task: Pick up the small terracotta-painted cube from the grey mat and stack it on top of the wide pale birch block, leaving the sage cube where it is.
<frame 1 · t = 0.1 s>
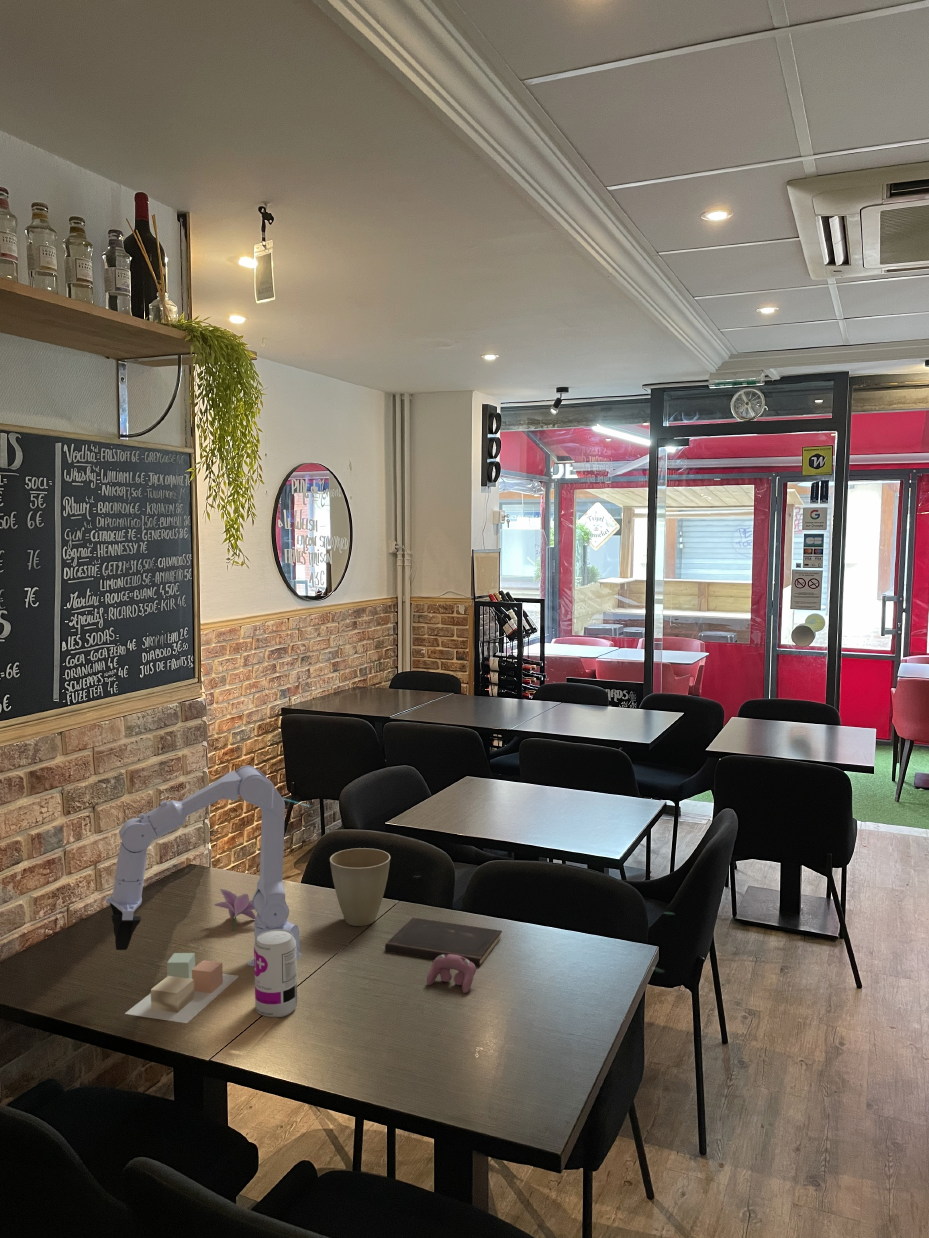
hand: (120, 941, 187), 11 cm above the table, tool pointing down, fingers open, 7 cm apart
sage block: (181, 977, 192), resting on mat
terracotta block: (207, 986, 189), resting on mat
video game controller: (451, 985, 190), on the table
plant pot: (361, 920, 223), on the table
birch base block: (173, 1003, 182), resting on mat
lily: (239, 925, 221), on the table
hardcover book: (444, 947, 209), on the table
supplement can: (276, 1010, 180), on the table
mat: (184, 995, 185), on the table
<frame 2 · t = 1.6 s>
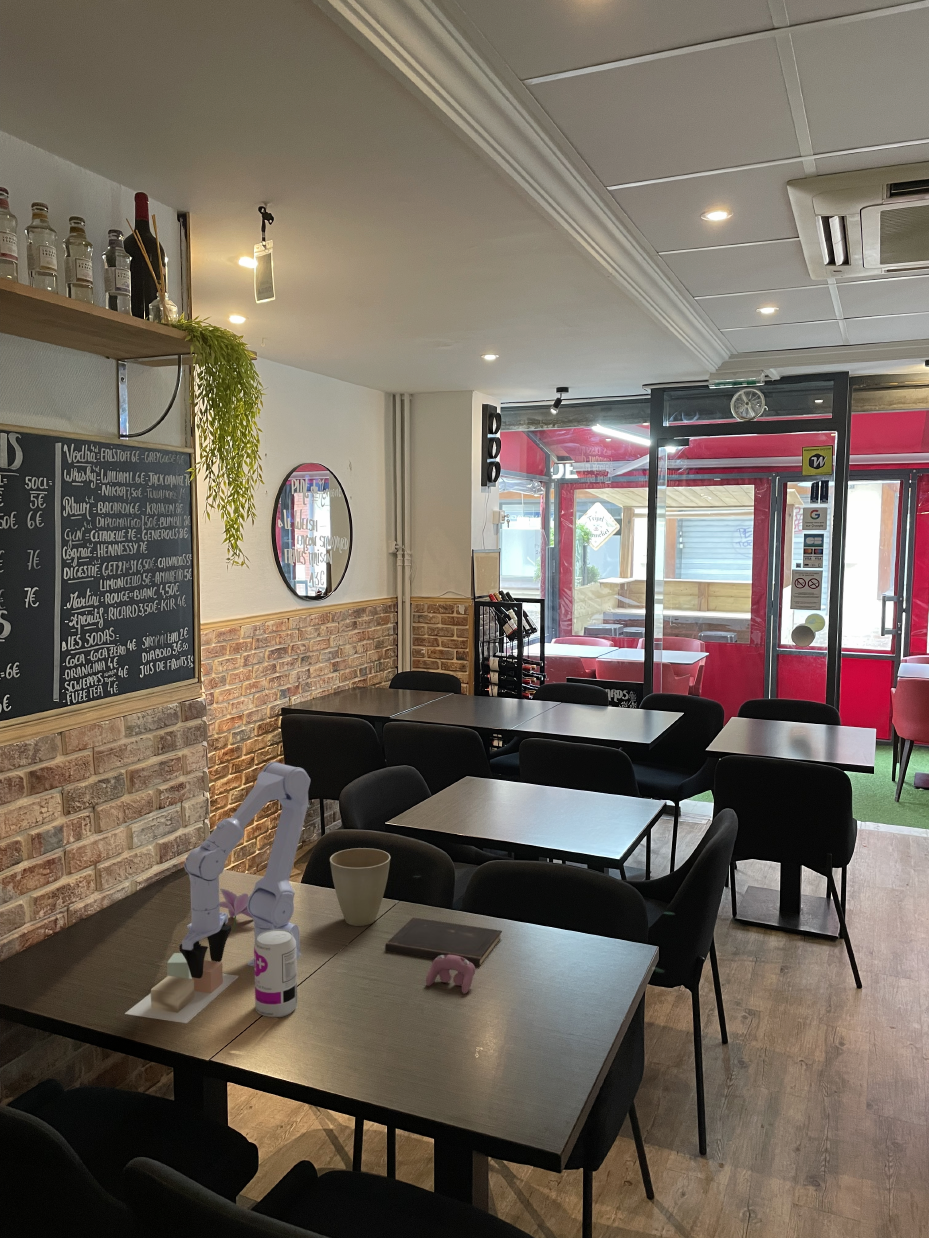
hand: (206, 968, 188), 4 cm above the table, tool pointing down, fingers open, 7 cm apart
nothing on the table moved.
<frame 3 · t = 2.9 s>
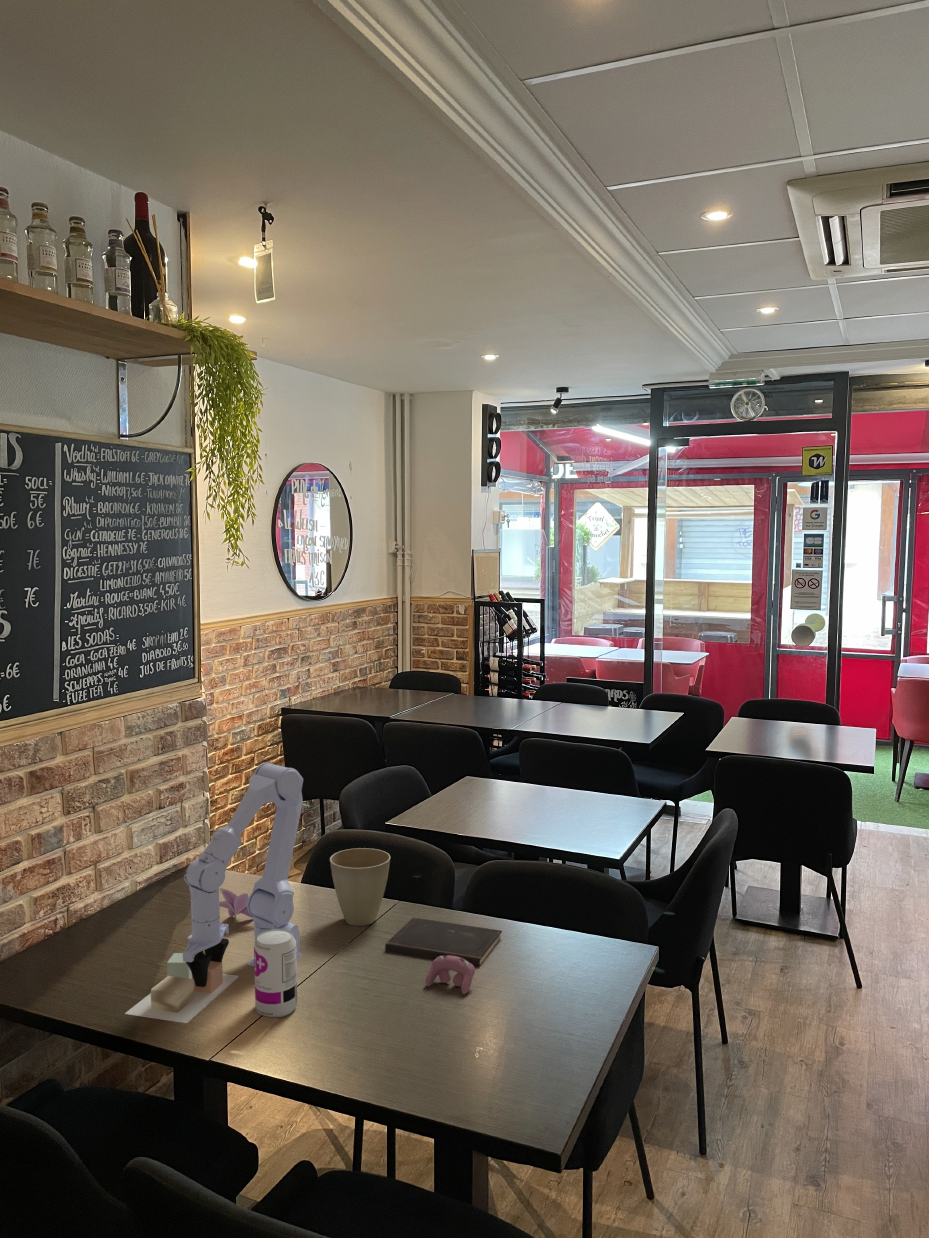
hand: (207, 980, 188), 2 cm above the table, tool pointing down, fingers closed on terracotta block, 4 cm apart
terracotta block: (207, 986, 189), resting on mat, touching gripper
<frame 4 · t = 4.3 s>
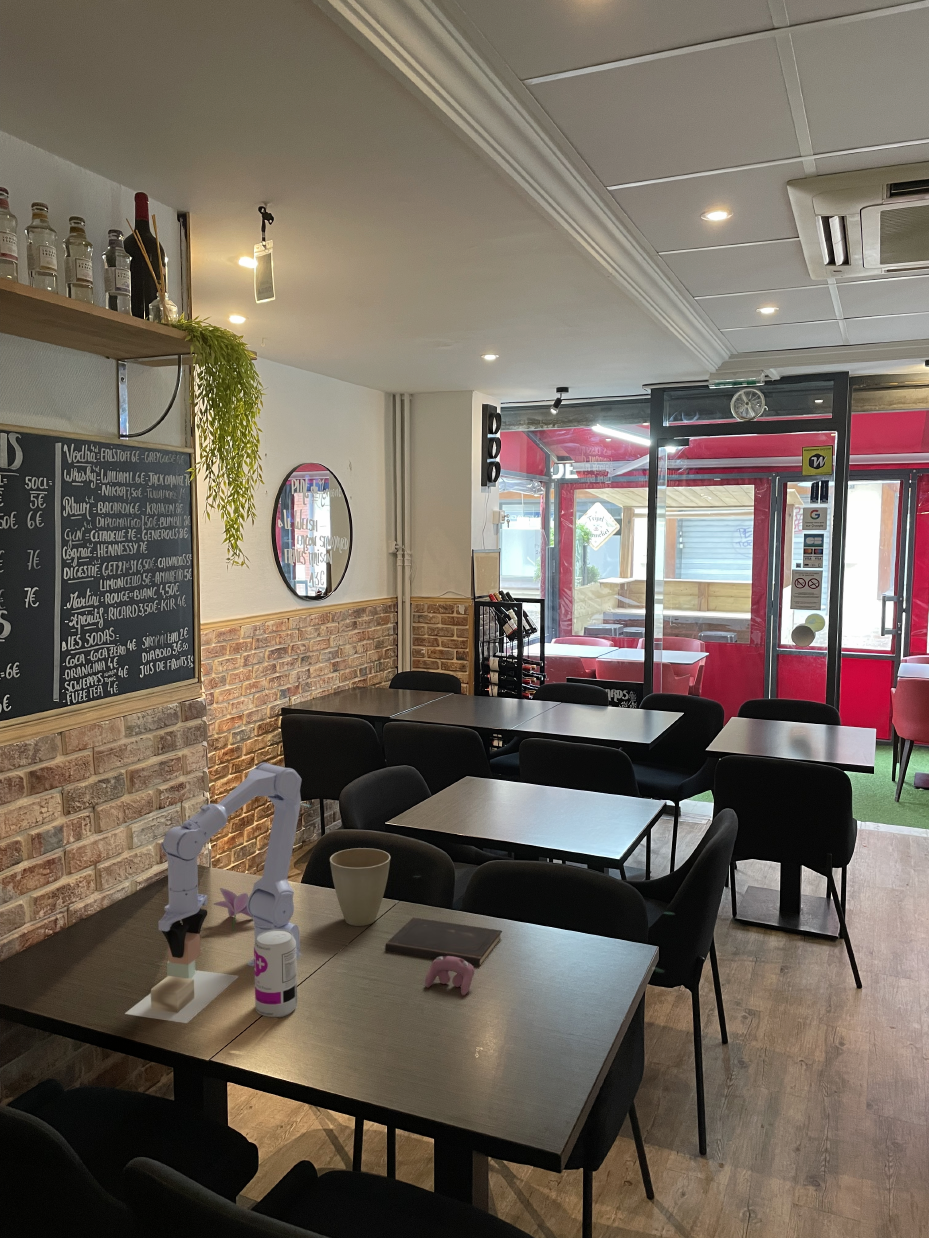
hand: (184, 951, 183), 10 cm above the table, tool pointing down, fingers closed on terracotta block, 4 cm apart
terracotta block: (184, 958, 184), point 9 cm above the table, touching gripper
everything else where it was.
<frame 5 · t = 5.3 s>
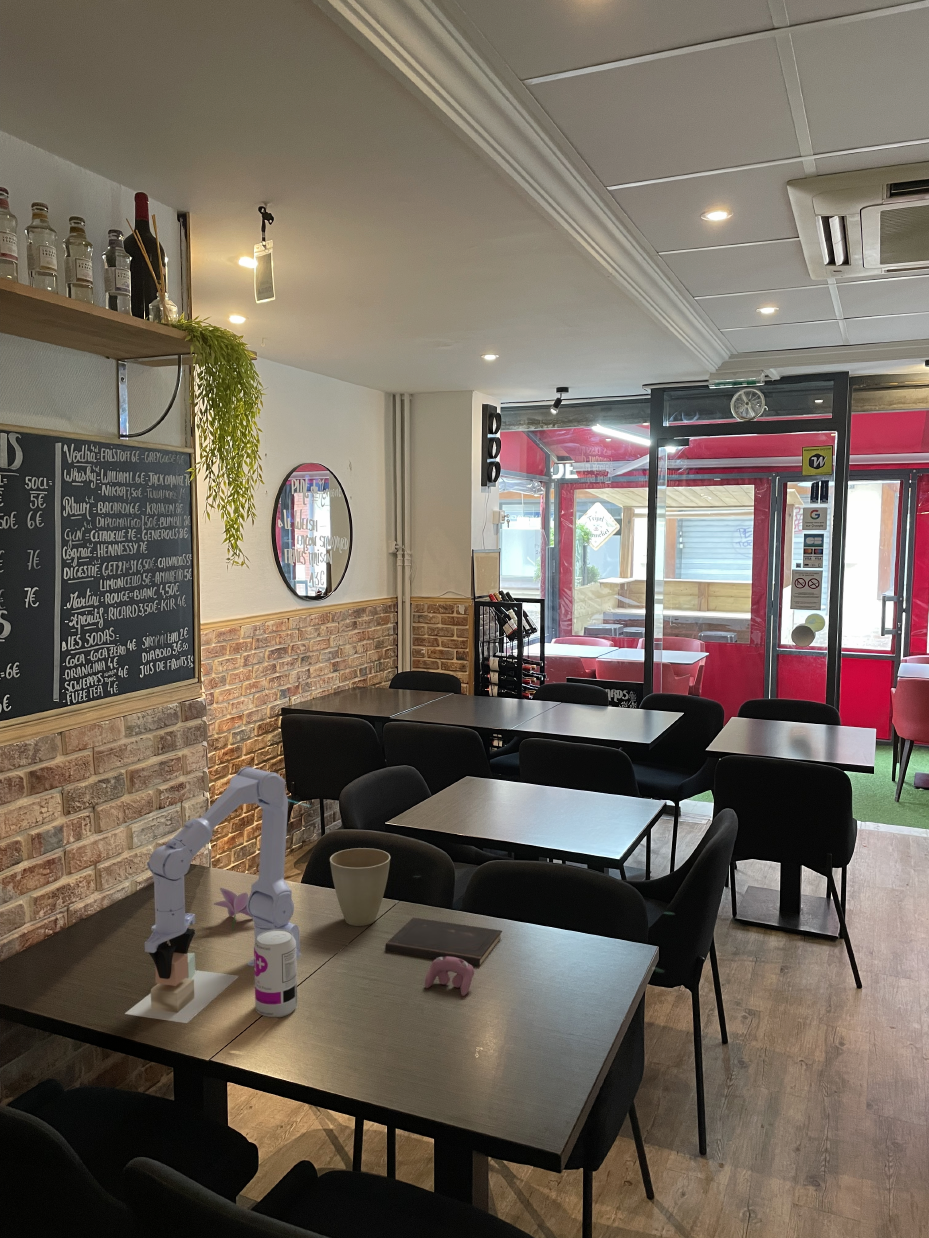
hand: (172, 971, 181), 7 cm above the table, tool pointing down, fingers closed on terracotta block, 4 cm apart
terracotta block: (172, 979, 181), point 5 cm above the table, touching gripper
when the fingers open (7 cm above the table, at t = 5.9 s): terracotta block drops 1 cm, resting on birch base block.
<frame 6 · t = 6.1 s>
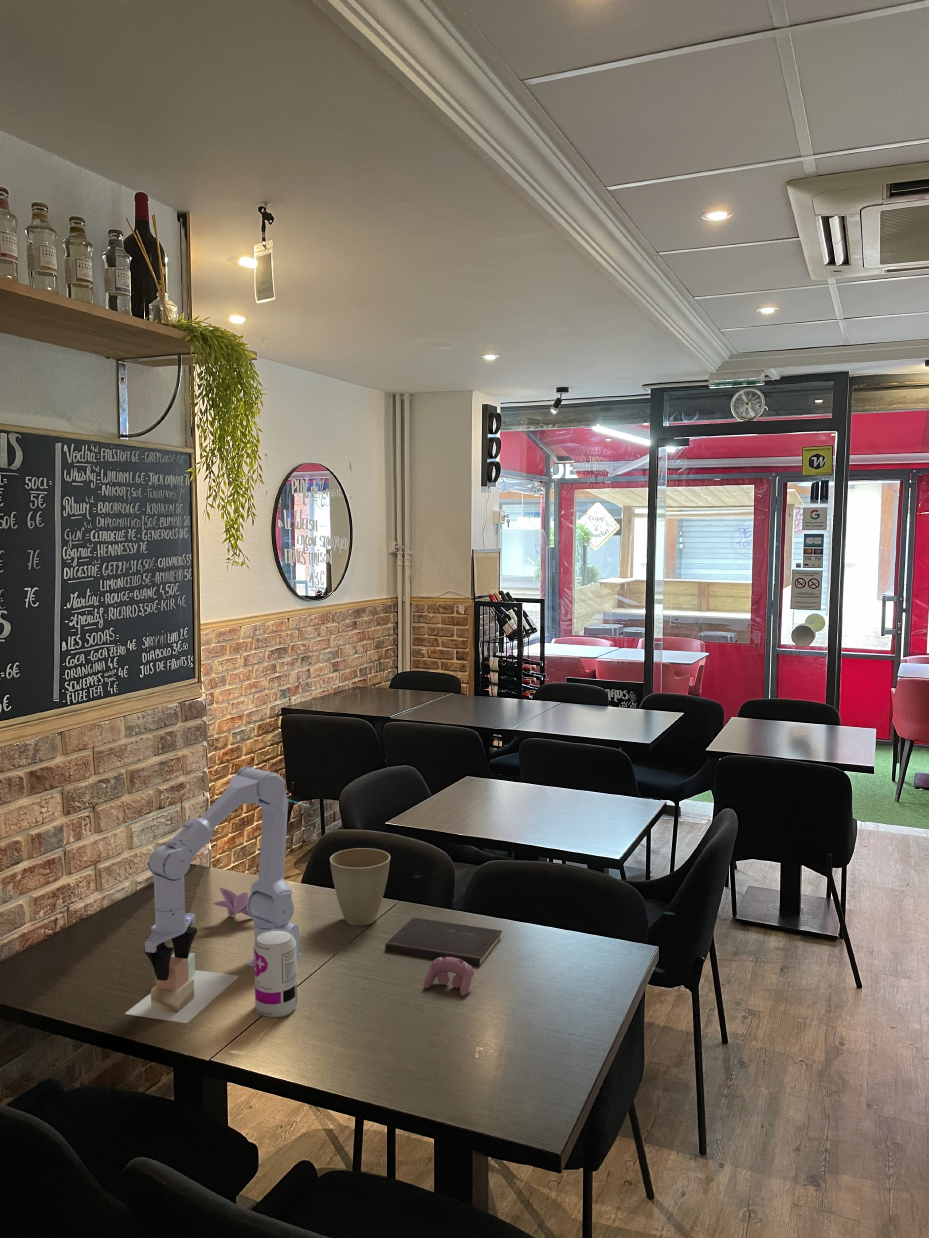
hand: (172, 971, 181), 7 cm above the table, tool pointing down, fingers open, 6 cm apart
terracotta block: (172, 984, 181), point 4 cm above the table, touching birch base block
birch base block: (173, 1003, 182), resting on mat, touching terracotta block
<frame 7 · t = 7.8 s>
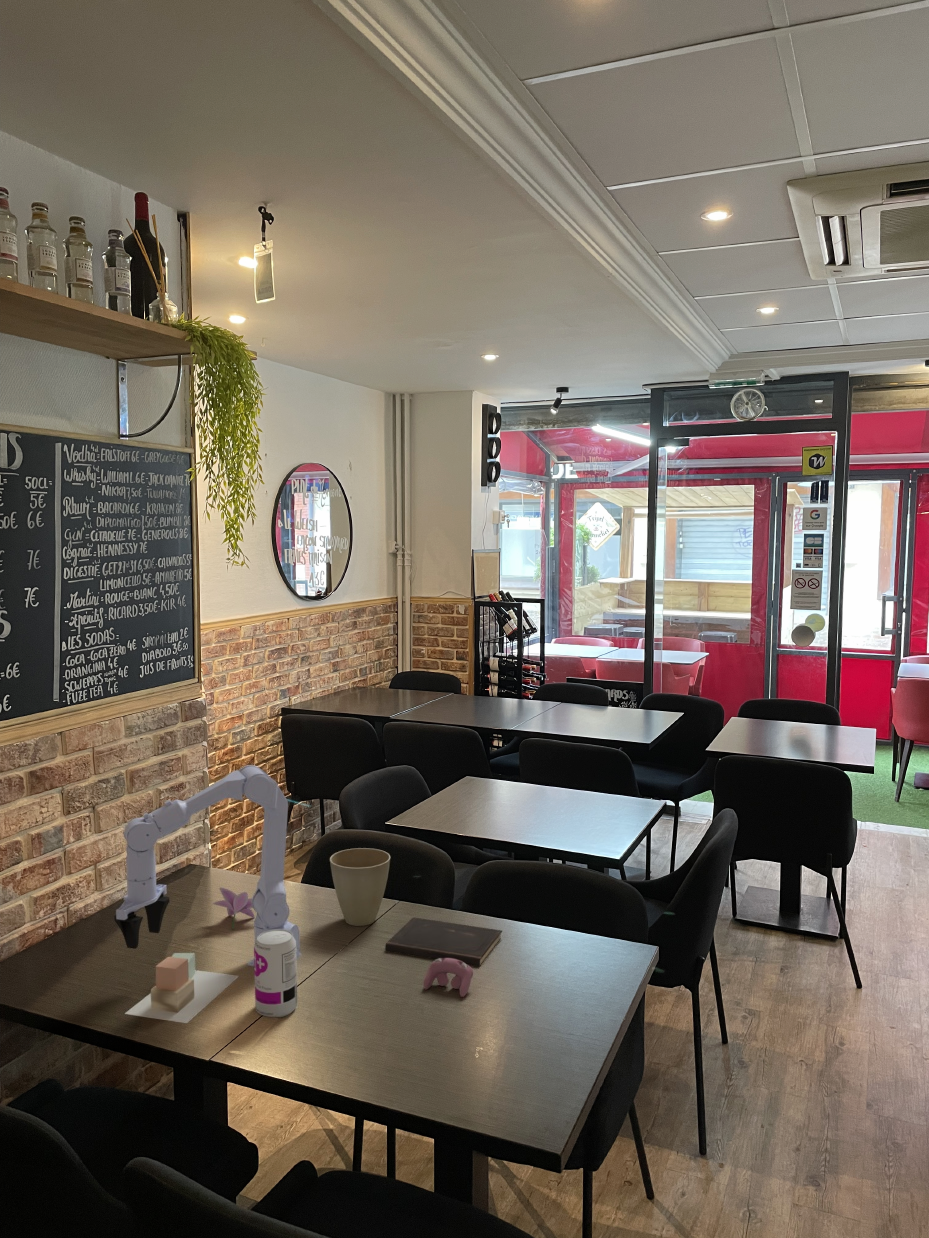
hand: (143, 939, 188), 10 cm above the table, tool pointing down, fingers open, 7 cm apart
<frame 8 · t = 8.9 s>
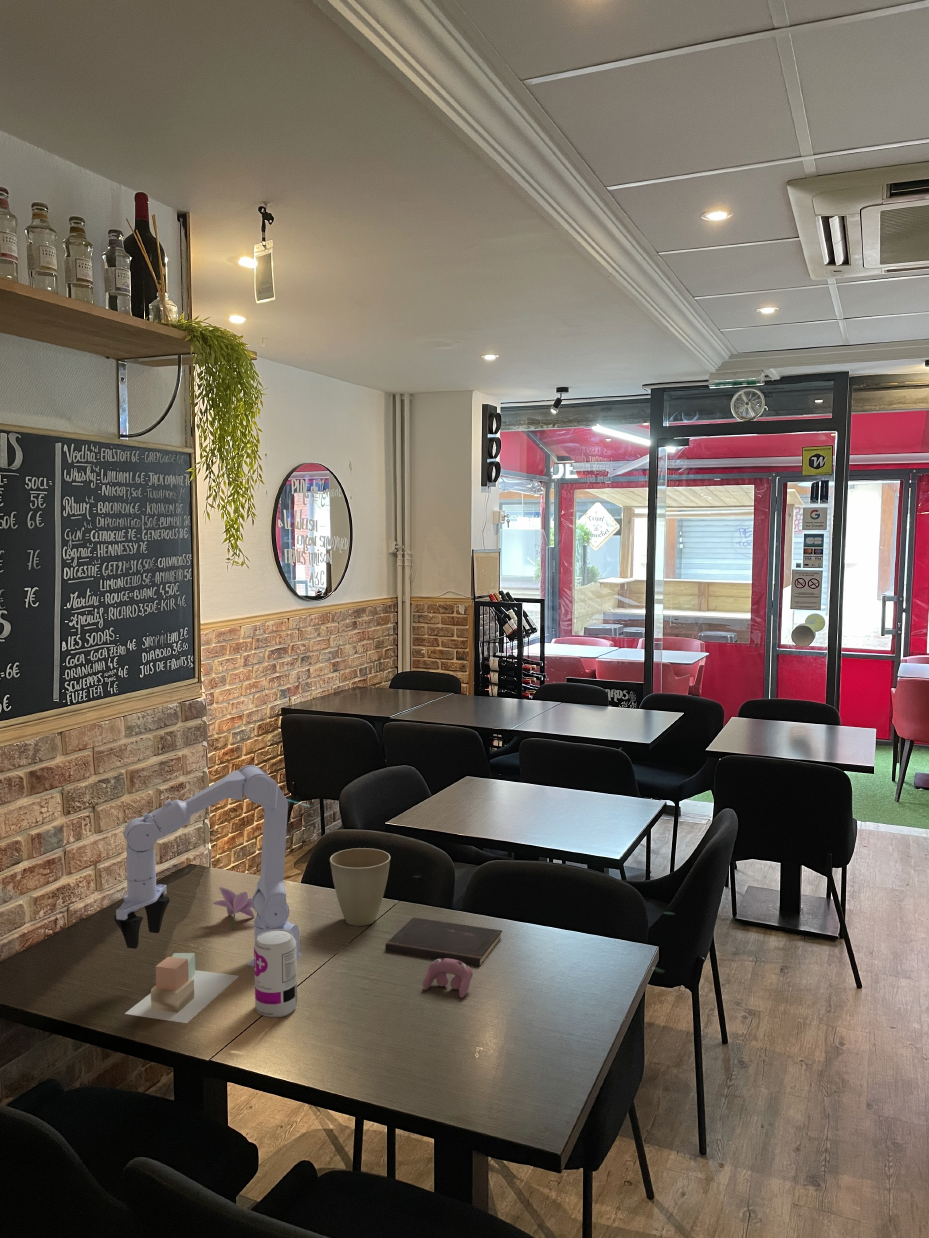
hand: (143, 939, 188), 10 cm above the table, tool pointing down, fingers open, 7 cm apart
at the end: terracotta block 0.1 cm off-centre on the birch base block, point 4.0 cm above the birch base block's base; terracotta block tilted 0°; the gripper is holding nothing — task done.
